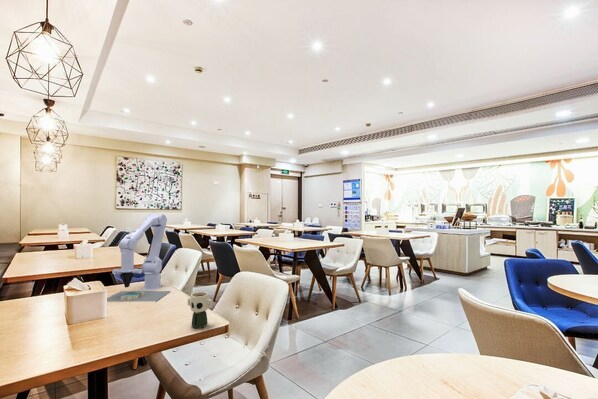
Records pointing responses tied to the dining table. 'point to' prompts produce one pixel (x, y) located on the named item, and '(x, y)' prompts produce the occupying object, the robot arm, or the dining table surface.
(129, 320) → the dining table surface
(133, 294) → the birch tile
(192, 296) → the character mug
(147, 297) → the rubber mat
